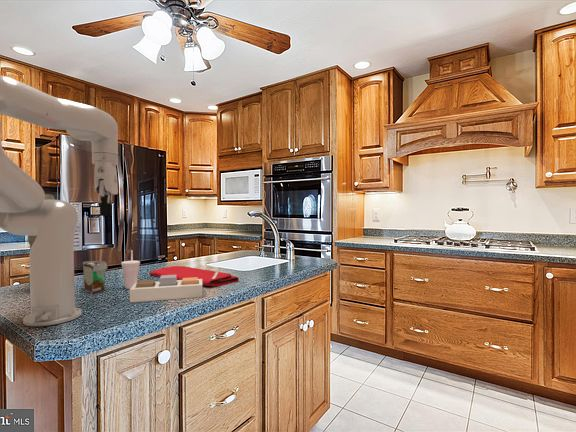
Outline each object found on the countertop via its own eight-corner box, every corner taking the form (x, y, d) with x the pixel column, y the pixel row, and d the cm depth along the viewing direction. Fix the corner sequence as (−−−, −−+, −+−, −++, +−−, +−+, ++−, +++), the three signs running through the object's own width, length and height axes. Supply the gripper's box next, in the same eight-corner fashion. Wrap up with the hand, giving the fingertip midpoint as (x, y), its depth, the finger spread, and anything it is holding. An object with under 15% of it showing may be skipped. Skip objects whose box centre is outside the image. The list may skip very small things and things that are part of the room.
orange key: (197, 289, 109) (197, 280, 109) (182, 290, 108) (182, 281, 108) (197, 286, 114) (197, 277, 114) (182, 287, 112) (182, 278, 112)
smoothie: (132, 290, 117) (132, 251, 116) (117, 289, 118) (116, 251, 118) (144, 286, 123) (143, 249, 123) (129, 285, 124) (128, 249, 124)
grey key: (175, 287, 107) (175, 277, 107) (159, 288, 106) (159, 278, 106) (176, 283, 112) (176, 274, 112) (161, 284, 111) (161, 275, 110)
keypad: (202, 297, 107) (202, 285, 107) (129, 302, 101) (129, 289, 101) (202, 289, 117) (202, 278, 117) (135, 294, 111) (135, 282, 111)
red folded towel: (180, 271, 156) (180, 263, 156) (239, 282, 131) (239, 273, 131) (149, 276, 143) (148, 268, 143) (208, 290, 118) (208, 280, 118)
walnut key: (153, 292, 105) (152, 282, 105) (136, 293, 104) (136, 283, 104) (155, 289, 110) (155, 279, 110) (139, 290, 109) (139, 280, 109)
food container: (113, 291, 116) (112, 263, 115) (93, 294, 111) (93, 265, 111) (101, 285, 124) (101, 259, 124) (83, 288, 119) (82, 261, 119)
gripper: (112, 156, 100) (112, 215, 101) (122, 163, 115) (123, 215, 115) (84, 155, 98) (85, 216, 99) (99, 162, 113) (100, 215, 113)
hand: (106, 215), depth 107 cm, fingers closed
